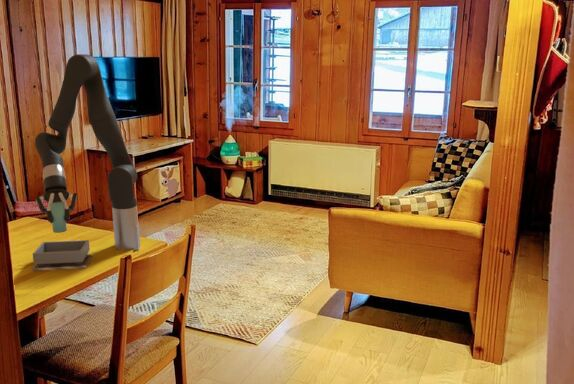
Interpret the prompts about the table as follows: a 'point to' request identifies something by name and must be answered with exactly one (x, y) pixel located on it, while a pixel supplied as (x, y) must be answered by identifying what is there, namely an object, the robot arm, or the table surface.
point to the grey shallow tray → (61, 252)
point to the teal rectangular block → (58, 217)
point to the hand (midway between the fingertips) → (59, 221)
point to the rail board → (64, 265)
